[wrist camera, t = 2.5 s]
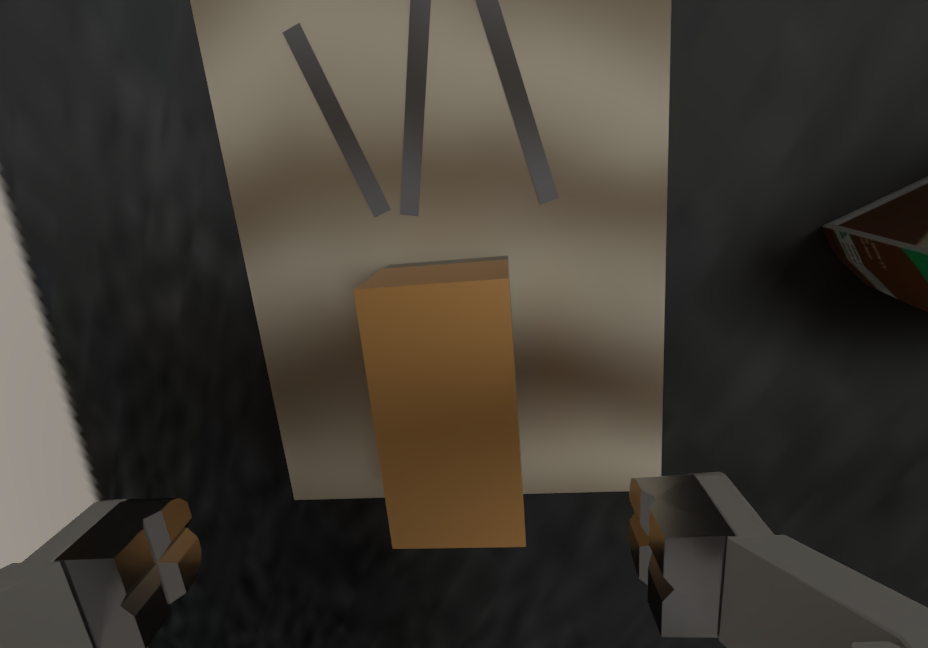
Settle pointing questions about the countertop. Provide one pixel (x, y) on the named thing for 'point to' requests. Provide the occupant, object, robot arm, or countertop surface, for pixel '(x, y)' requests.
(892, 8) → the countertop surface
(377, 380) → the block
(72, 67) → the countertop surface
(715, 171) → the countertop surface
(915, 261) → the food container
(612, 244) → the birch board
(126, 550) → the robot arm
